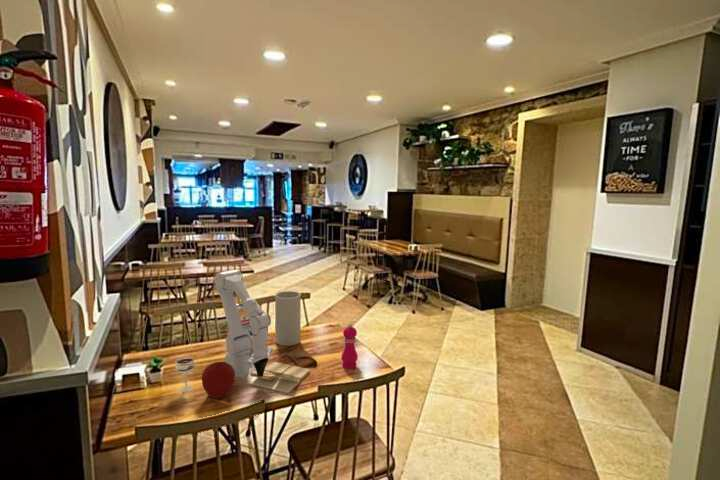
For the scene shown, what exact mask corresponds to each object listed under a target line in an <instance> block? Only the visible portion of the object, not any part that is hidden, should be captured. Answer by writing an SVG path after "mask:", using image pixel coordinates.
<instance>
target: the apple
mask: <svg viewBox="0 0 720 480" xmlns="http://www.w3.org/2000/svg"><path fill="white" fill-rule="evenodd" d="M235 377H236V376H235V371H234V369H233V366H231V365H230V364H228V363H225V361H217V362H211V363H209V365H206V367H205V368H204V370H203V372H202V374H201V383H202V387H203V389H204V391H205V392H206V395H208V397H210V398H212V399H214V400H218V399H222V398H224V397H225V396H227V395H228V394H230V392H231V390H232V388H233V384H234V382H235Z"/></svg>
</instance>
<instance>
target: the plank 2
mask: <svg viewBox="0 0 720 480" xmlns="http://www.w3.org/2000/svg"><path fill="white" fill-rule="evenodd" d="M272 375H275V376H278V377H281V378H285V379H290V380H294V381H299V383H300V382H301V381H300V378H298V377H295V376H293V375H288V374H283V373H279V372H274V371H273V372H272Z"/></svg>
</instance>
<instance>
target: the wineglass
mask: <svg viewBox="0 0 720 480" xmlns="http://www.w3.org/2000/svg"><path fill="white" fill-rule="evenodd" d="M194 360H195V357H194V356H190V355H188V356H180V357H179V358H176V359H175V369H176V372H178V373H180V374H183V375H184V386H181V387H180V388H179V391H178V392H180V393H189V392H191V391H193V389H194V387H193V386H192V385H188V383H187V380H188V377H187V376H188V375H187V374H188V373H191V372H192V371H193V370H194V368H195V365H196V363H195V361H194Z"/></svg>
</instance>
